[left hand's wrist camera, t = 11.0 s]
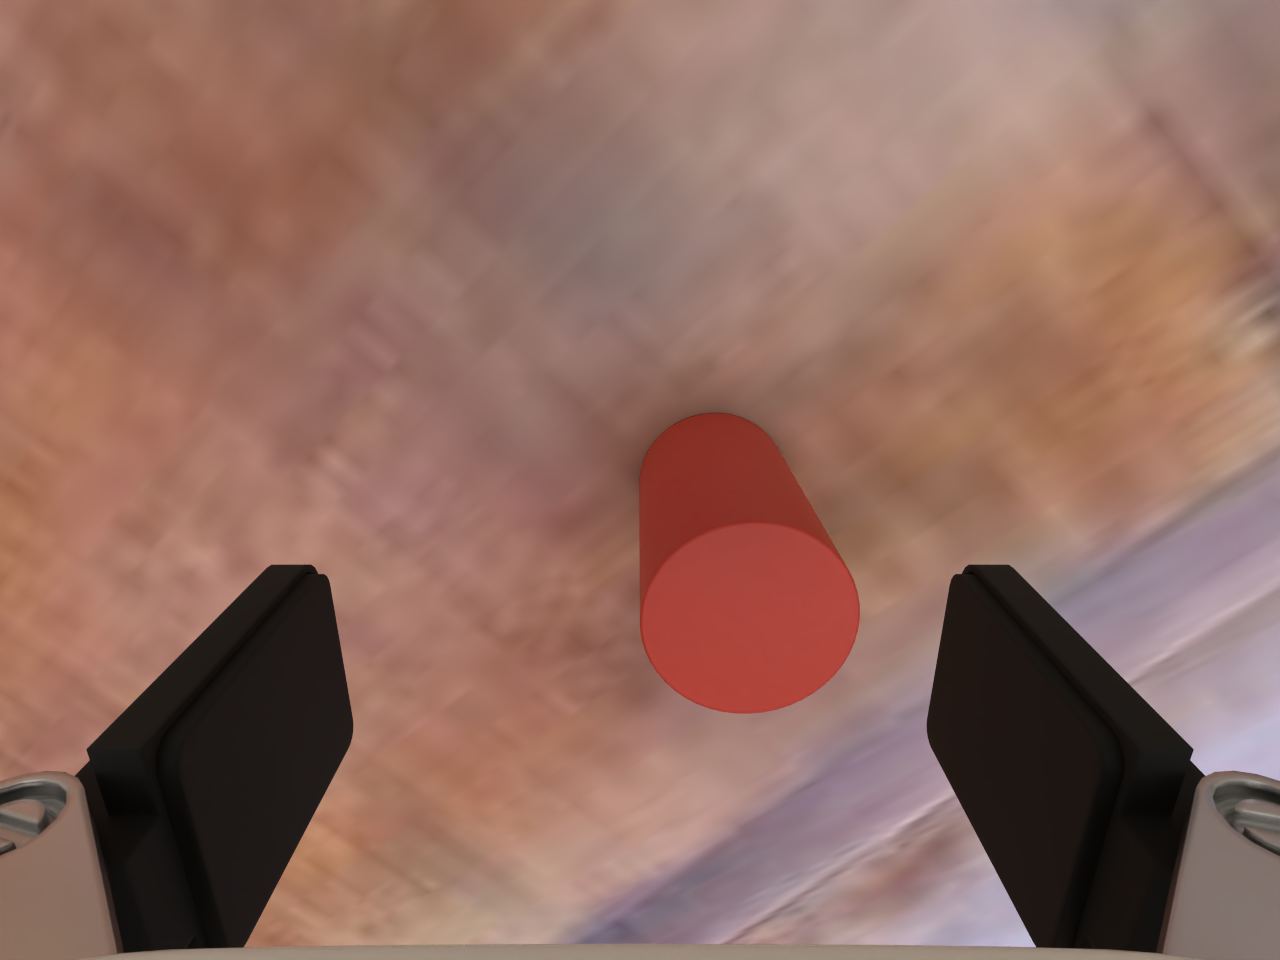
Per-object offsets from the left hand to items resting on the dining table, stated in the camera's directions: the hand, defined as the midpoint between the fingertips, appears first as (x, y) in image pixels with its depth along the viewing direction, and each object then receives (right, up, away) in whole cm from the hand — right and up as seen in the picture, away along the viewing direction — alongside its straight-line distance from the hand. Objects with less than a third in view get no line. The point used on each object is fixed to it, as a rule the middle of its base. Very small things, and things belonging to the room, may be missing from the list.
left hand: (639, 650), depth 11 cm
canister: (+3, +2, +17) cm, 17 cm away
